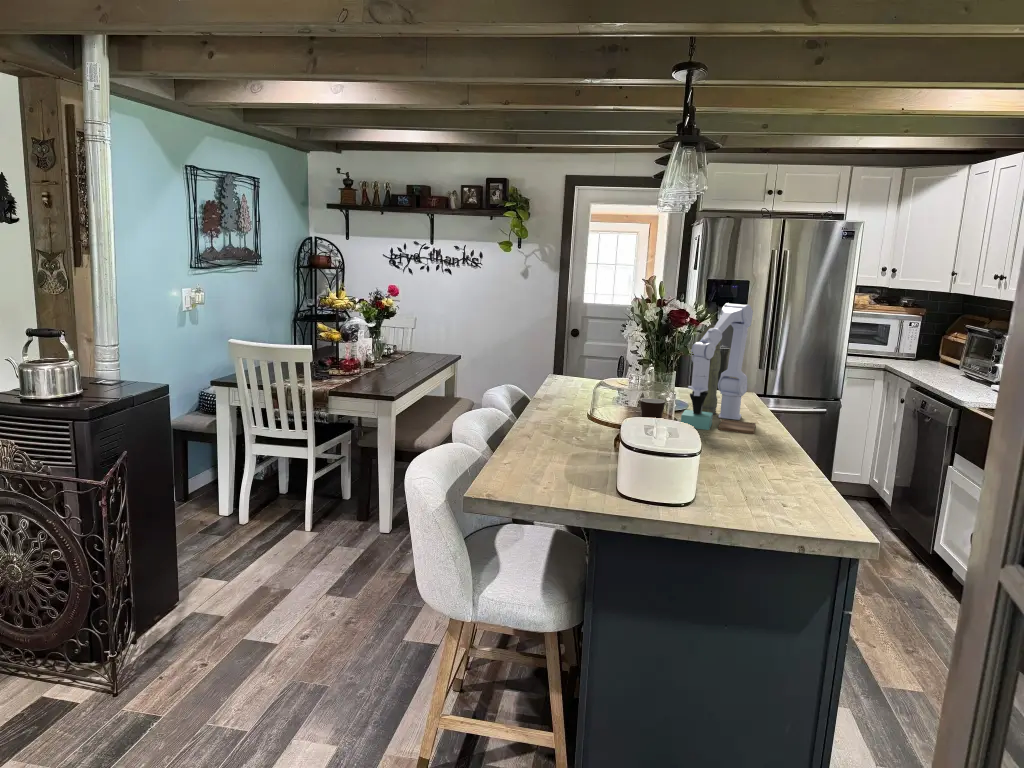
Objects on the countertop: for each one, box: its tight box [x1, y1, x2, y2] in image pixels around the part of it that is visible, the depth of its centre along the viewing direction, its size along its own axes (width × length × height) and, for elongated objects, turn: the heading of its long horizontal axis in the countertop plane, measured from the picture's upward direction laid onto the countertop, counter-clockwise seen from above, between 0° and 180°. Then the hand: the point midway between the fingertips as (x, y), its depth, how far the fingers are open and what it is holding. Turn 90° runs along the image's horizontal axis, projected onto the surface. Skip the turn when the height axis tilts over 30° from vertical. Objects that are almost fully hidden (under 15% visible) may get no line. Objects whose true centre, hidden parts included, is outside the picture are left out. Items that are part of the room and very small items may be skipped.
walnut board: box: [718, 418, 757, 435], centre depth 249 cm, size 14×12×1 cm
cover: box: [680, 403, 714, 431], centre depth 250 cm, size 10×10×8 cm
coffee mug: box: [639, 397, 666, 418], centre depth 245 cm, size 12×9×10 cm
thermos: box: [700, 323, 722, 415], centre depth 271 cm, size 9×12×35 cm
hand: (697, 412), depth 250 cm, fingers open, 4 cm apart
